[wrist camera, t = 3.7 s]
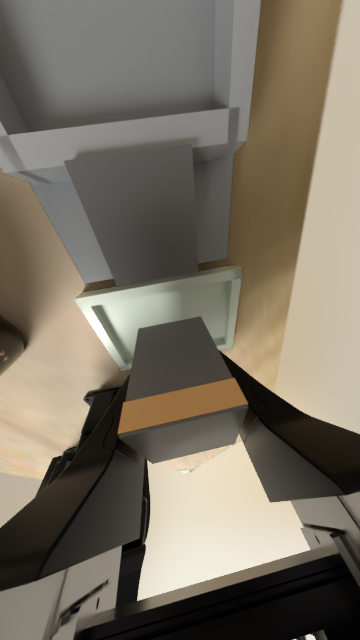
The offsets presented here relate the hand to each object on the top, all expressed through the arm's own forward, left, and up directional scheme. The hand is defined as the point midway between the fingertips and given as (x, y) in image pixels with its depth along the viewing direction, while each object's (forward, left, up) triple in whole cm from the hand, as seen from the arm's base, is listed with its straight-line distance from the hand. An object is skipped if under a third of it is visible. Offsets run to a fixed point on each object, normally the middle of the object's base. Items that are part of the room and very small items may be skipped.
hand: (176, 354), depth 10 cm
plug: (0, 0, -1) cm, 1 cm away
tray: (0, 0, -5) cm, 5 cm away
